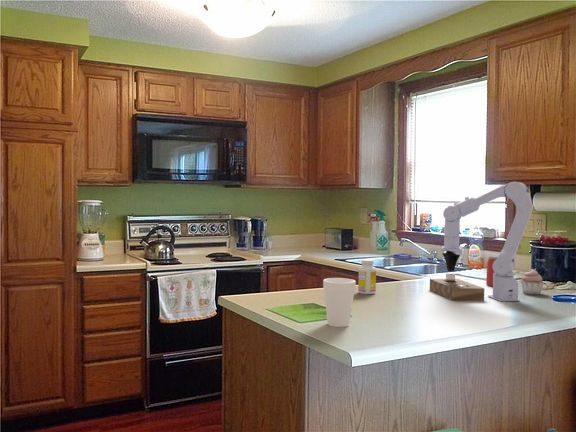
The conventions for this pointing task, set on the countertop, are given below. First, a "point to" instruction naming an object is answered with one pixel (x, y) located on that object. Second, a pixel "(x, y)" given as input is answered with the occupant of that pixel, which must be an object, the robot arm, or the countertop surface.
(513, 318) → the countertop surface
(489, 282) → the beer can
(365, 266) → the supplement bottle
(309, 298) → the countertop surface
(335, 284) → the foam cup
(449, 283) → the walnut block
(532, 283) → the cupcake
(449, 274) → the peg far
